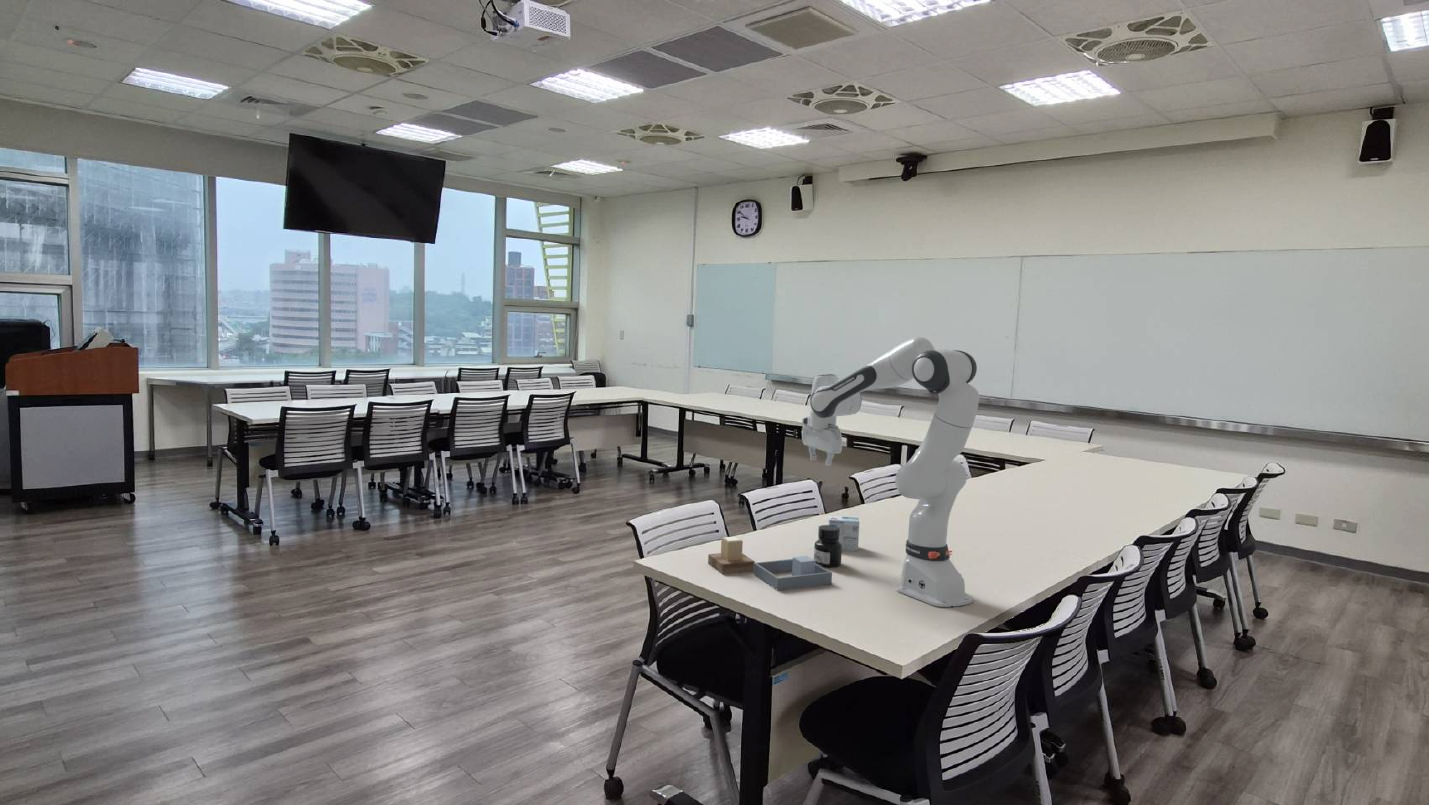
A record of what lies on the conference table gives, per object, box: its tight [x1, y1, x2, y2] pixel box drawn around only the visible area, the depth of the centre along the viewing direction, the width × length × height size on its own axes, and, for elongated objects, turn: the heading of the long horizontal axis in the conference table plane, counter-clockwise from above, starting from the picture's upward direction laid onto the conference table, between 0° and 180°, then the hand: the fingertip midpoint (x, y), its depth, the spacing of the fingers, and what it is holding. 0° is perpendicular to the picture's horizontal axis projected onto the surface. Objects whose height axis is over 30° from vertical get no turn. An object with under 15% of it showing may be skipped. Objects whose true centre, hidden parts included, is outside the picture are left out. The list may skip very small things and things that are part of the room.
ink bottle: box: [813, 524, 843, 568], centre depth 255 cm, size 10×9×12 cm
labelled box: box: [720, 536, 743, 561], centre depth 247 cm, size 5×5×6 cm
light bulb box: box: [827, 515, 860, 552], centre depth 273 cm, size 11×7×11 cm, turn 84°
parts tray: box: [752, 558, 833, 591], centre depth 238 cm, size 16×19×4 cm
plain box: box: [791, 555, 815, 576], centre depth 240 cm, size 5×5×6 cm
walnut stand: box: [707, 552, 756, 575], centre depth 247 cm, size 11×11×3 cm
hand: (820, 462), depth 264 cm, fingers open, 8 cm apart
